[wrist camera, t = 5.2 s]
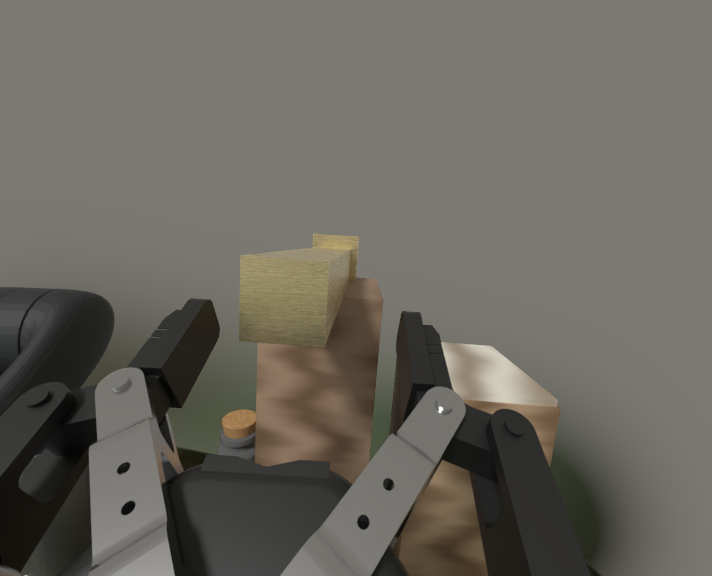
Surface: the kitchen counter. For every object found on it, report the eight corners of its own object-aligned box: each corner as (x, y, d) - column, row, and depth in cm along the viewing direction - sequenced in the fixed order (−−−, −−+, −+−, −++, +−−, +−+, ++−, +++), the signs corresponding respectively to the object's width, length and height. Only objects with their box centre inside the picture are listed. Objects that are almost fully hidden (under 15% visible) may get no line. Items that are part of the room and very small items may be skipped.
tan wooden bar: (222, 339, 13) (223, 219, 12) (316, 274, 39) (318, 234, 38) (340, 349, 13) (349, 228, 12) (356, 277, 39) (359, 237, 38)
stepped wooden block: (244, 652, 30) (253, 290, 25) (282, 523, 44) (292, 273, 39) (511, 676, 30) (577, 315, 25) (464, 539, 44) (500, 288, 38)
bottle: (261, 494, 49) (264, 406, 47) (256, 528, 43) (258, 430, 41) (222, 497, 48) (223, 407, 45) (211, 532, 42) (211, 431, 40)
